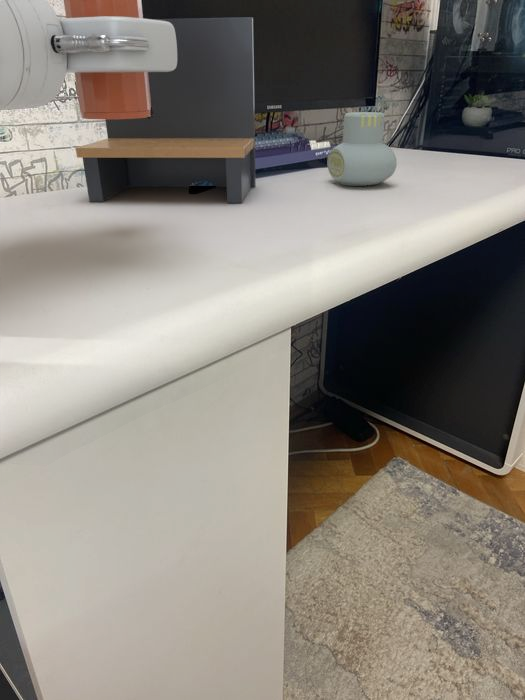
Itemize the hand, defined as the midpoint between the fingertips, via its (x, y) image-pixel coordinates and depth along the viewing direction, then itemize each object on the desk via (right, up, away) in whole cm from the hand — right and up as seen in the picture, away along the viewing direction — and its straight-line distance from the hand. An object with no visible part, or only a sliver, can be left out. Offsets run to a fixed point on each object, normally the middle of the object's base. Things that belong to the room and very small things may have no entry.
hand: (114, 51), depth 52 cm
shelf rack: (+2, -7, +25) cm, 26 cm away
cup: (0, -6, +2) cm, 6 cm away
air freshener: (+30, -3, +31) cm, 43 cm away
